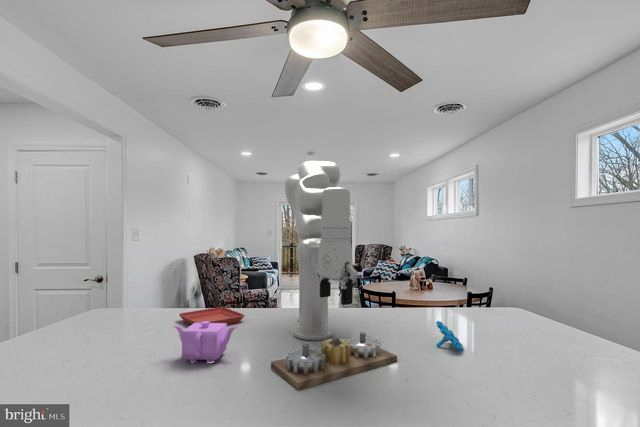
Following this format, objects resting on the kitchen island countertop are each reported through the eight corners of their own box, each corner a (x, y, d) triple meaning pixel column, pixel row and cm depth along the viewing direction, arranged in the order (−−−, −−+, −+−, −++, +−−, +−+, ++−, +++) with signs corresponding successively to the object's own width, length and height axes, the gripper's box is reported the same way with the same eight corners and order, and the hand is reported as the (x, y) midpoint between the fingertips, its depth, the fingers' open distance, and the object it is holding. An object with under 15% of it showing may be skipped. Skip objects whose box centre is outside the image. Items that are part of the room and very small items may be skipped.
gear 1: (279, 363, 87) (279, 343, 88) (312, 355, 93) (312, 336, 93) (298, 377, 79) (298, 355, 79) (333, 368, 84) (333, 347, 85)
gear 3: (463, 351, 96) (437, 321, 100) (447, 364, 97) (421, 334, 101) (466, 344, 106) (442, 317, 110) (452, 356, 107) (428, 329, 111)
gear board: (298, 389, 77) (298, 359, 77) (271, 367, 89) (271, 341, 89) (397, 361, 93) (397, 336, 93) (363, 345, 105) (363, 323, 105)
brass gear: (316, 356, 92) (316, 341, 92) (338, 351, 96) (338, 336, 96) (332, 366, 86) (332, 349, 86) (355, 360, 90) (355, 344, 90)
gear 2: (338, 349, 97) (338, 331, 97) (364, 343, 102) (364, 326, 102) (360, 360, 89) (360, 341, 89) (388, 353, 94) (388, 335, 94)
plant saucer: (222, 314, 143) (222, 305, 143) (245, 323, 130) (245, 314, 130) (177, 322, 130) (177, 313, 131) (198, 333, 117) (198, 323, 117)
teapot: (244, 349, 102) (245, 315, 102) (231, 367, 89) (231, 328, 89) (183, 348, 102) (184, 314, 103) (161, 366, 89) (162, 327, 90)
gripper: (306, 233, 97) (306, 295, 97) (343, 236, 82) (343, 309, 82) (329, 233, 101) (328, 292, 101) (368, 236, 87) (368, 305, 86)
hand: (335, 300), depth 92 cm, fingers open, 9 cm apart
